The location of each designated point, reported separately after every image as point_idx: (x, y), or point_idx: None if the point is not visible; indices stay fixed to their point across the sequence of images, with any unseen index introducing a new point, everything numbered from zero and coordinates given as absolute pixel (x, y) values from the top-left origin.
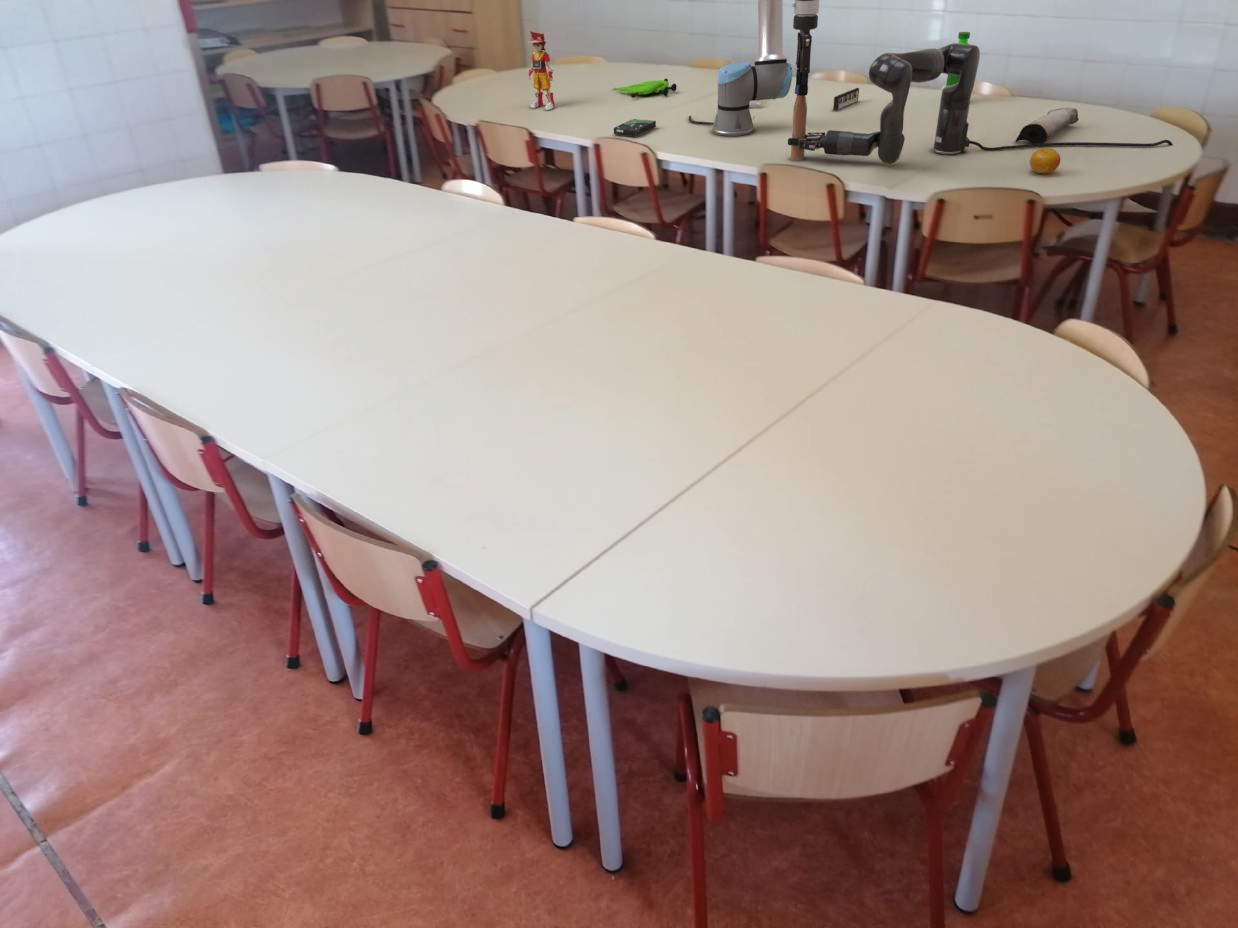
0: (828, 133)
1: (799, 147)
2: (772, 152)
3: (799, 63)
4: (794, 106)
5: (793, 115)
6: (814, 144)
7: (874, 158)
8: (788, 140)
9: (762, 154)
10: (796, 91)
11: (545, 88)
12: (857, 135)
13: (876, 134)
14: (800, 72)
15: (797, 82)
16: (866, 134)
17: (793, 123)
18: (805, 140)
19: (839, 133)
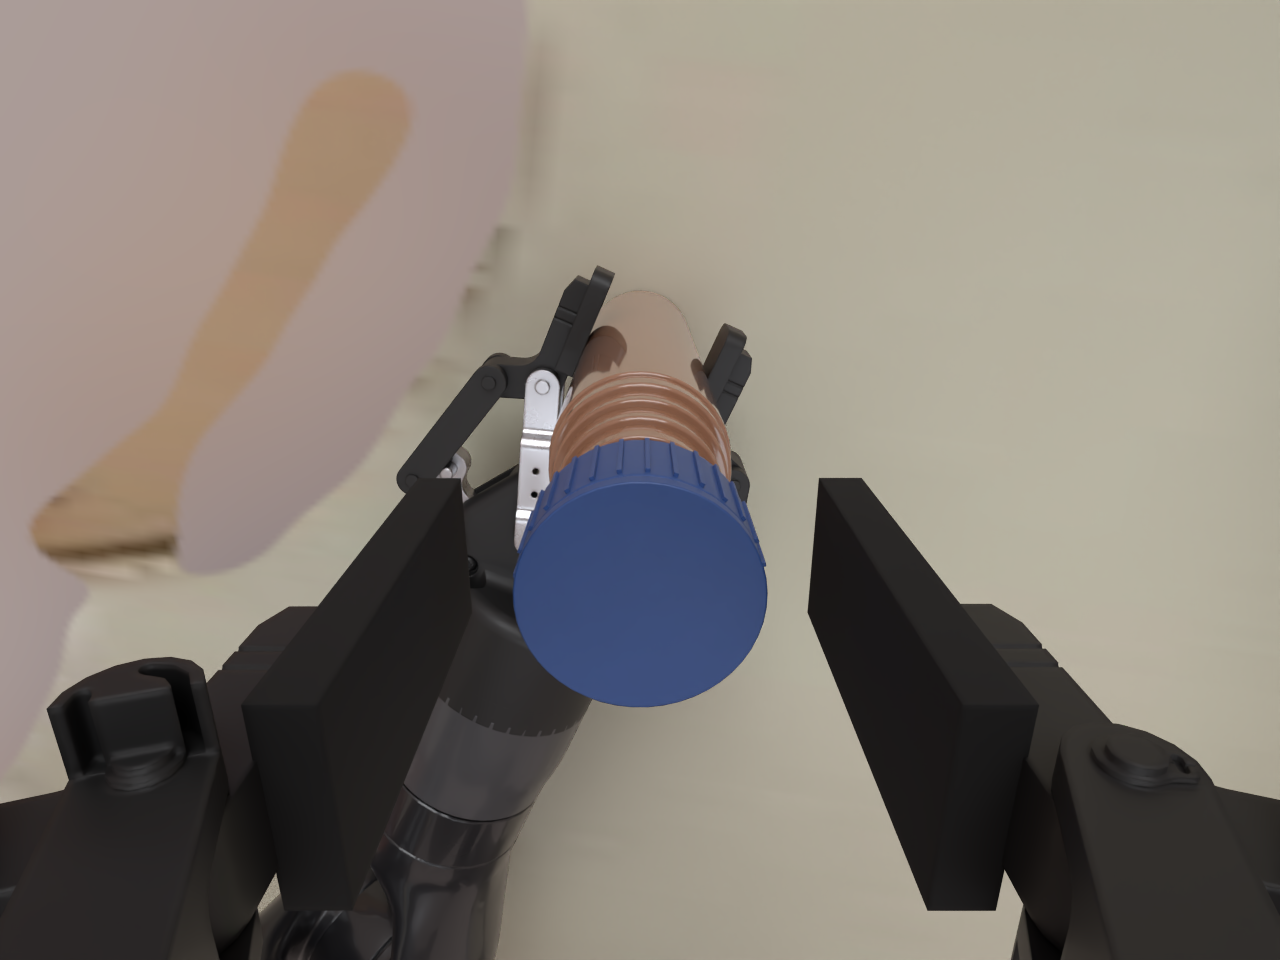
0: (480, 630)
1: (488, 358)
2: (859, 159)
3: (1087, 921)
4: (613, 388)
5: (624, 356)
6: (402, 483)
7: (584, 799)
8: (594, 273)
9: (820, 59)
10: (571, 472)
11: None
12: (410, 818)
13: (392, 932)
14: (74, 760)
15: (858, 563)
16: (413, 876)
17: (613, 343)
18: (524, 424)
19: (453, 710)
